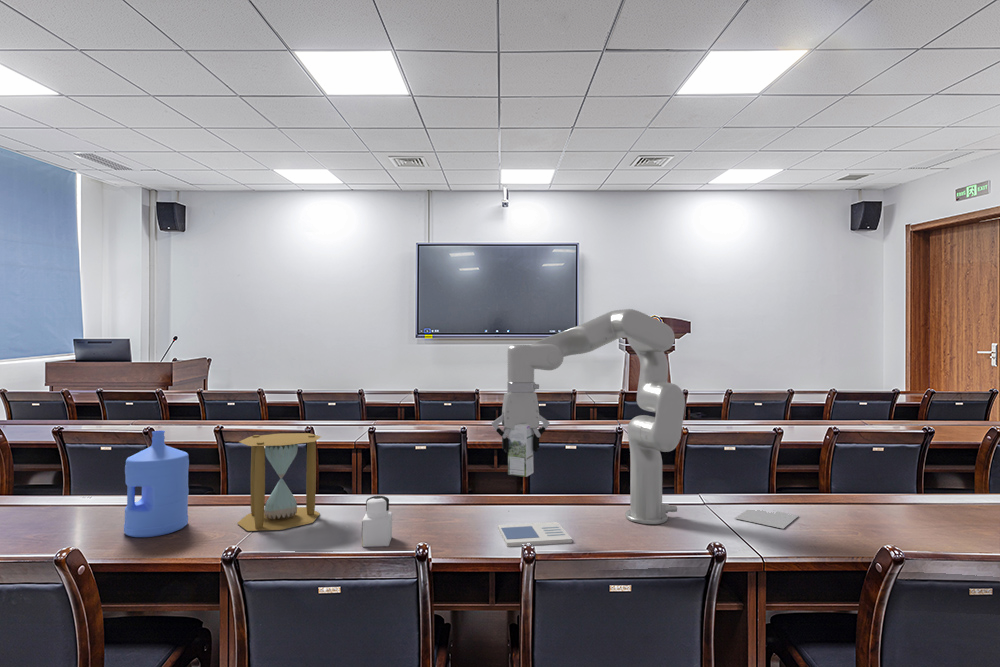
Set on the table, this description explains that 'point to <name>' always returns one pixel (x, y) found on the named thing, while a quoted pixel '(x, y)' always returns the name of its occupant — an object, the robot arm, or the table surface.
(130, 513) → the water jug
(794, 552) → the table surface
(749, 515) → the paper stack
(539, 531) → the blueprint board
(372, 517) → the medicine bottle
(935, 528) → the table surface
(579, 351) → the robot arm
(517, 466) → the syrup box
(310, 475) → the hourglass
